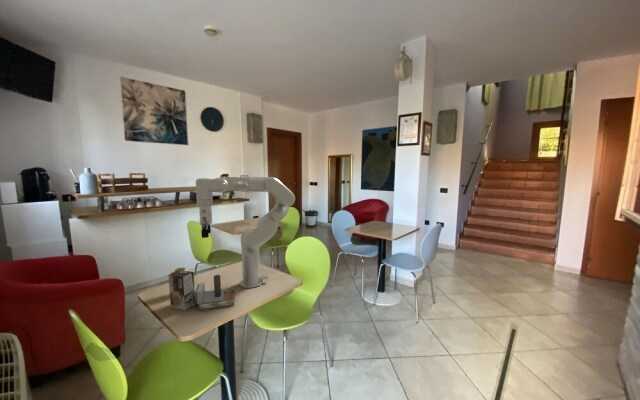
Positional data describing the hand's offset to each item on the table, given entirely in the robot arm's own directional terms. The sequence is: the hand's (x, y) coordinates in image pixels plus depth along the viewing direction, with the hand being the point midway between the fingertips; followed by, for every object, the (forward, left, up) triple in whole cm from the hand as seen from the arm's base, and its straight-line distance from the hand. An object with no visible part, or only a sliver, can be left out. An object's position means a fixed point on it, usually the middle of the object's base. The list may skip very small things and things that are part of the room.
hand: (206, 235), depth 135 cm
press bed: (-6, +13, -30) cm, 33 cm away
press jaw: (-2, +13, -29) cm, 32 cm away
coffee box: (+10, +13, -31) cm, 35 cm away
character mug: (+14, -1, -31) cm, 34 cm away
